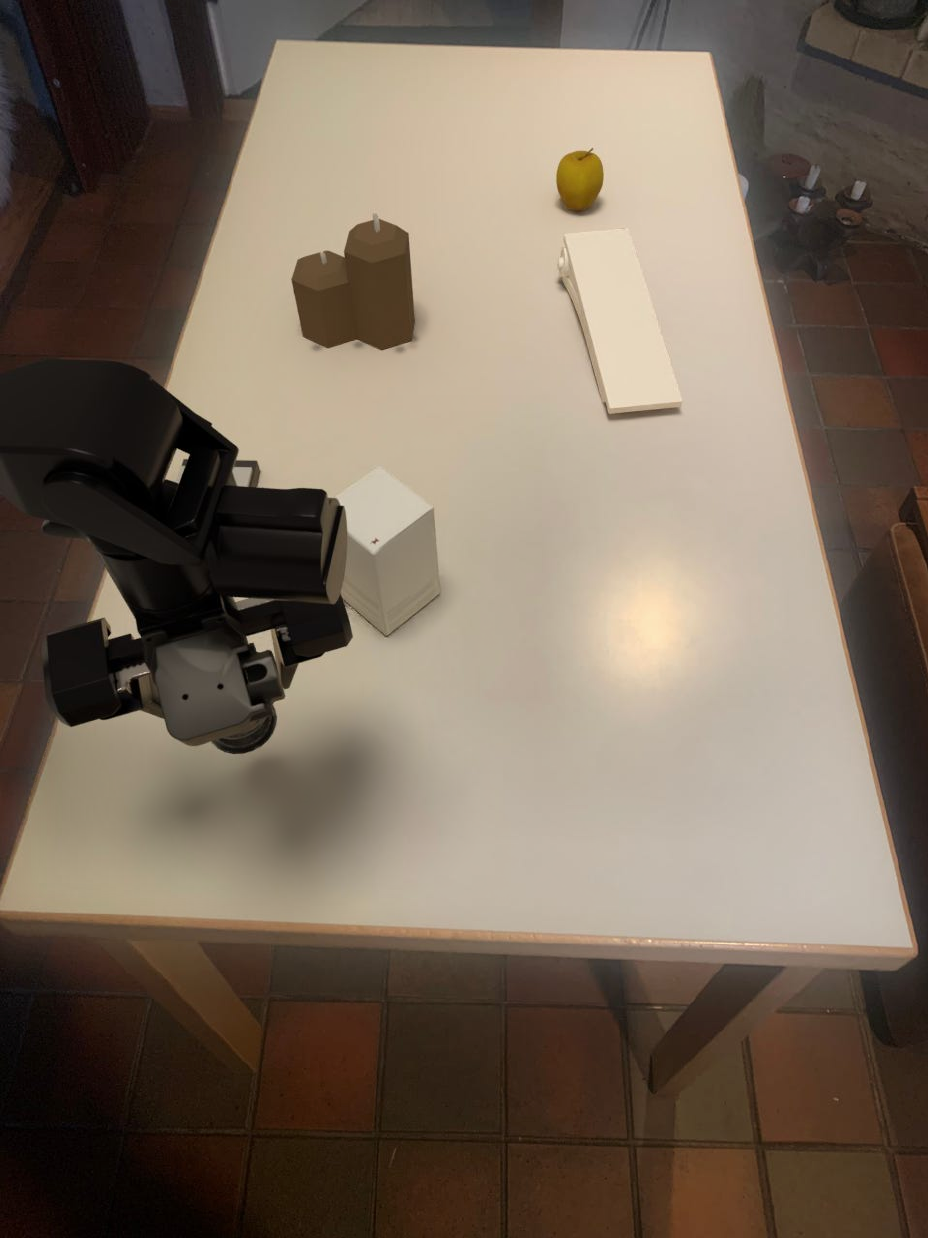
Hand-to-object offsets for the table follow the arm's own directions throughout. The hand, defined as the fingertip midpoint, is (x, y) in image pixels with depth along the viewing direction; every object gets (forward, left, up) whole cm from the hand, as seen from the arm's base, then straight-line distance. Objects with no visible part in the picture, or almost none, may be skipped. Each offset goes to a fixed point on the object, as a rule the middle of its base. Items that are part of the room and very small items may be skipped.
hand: (230, 699), depth 61 cm
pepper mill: (0, 0, -4) cm, 4 cm away
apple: (+60, +69, -13) cm, 93 cm away
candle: (+25, +55, -13) cm, 62 cm away
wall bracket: (+53, +41, -13) cm, 68 cm away
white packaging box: (+15, +14, -13) cm, 24 cm away
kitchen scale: (+1, +31, -13) cm, 34 cm away
